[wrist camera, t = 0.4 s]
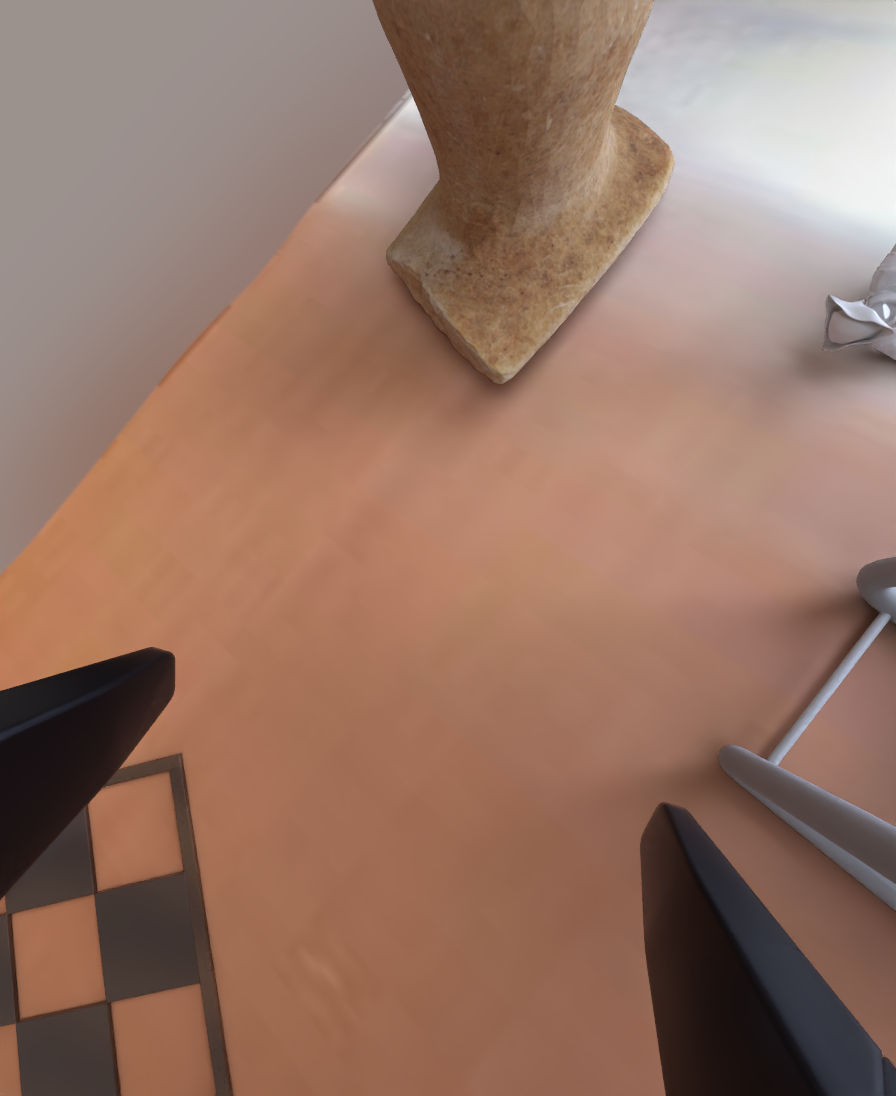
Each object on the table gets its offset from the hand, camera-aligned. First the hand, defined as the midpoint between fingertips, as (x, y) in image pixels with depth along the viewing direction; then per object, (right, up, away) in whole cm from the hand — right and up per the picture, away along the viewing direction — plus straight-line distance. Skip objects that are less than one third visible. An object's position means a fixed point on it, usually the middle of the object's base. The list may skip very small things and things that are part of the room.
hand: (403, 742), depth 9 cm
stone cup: (+4, +20, +18) cm, 27 cm away
